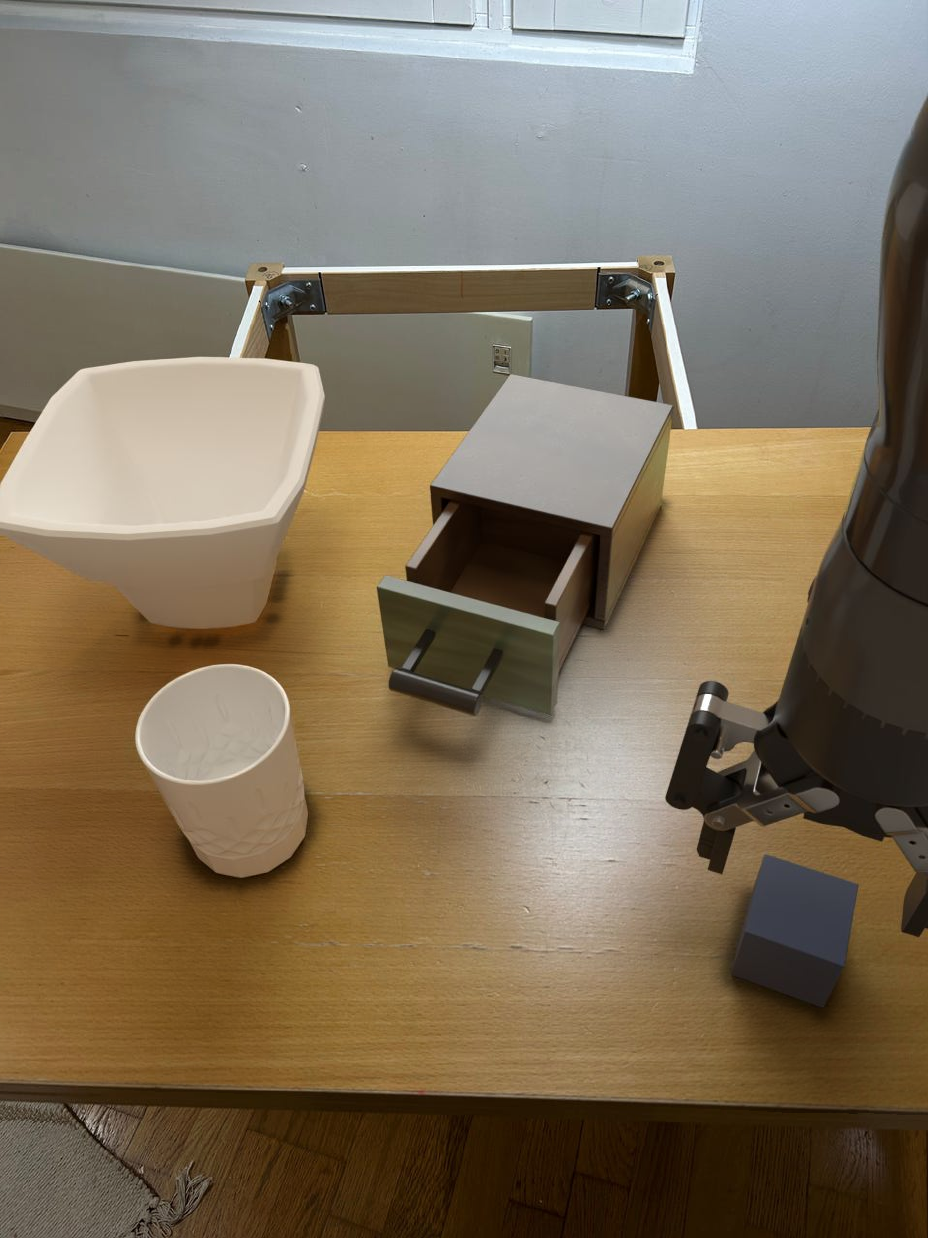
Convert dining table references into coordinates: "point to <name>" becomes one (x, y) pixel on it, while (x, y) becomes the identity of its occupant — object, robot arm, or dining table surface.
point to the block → (796, 930)
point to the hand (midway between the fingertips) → (812, 886)
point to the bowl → (170, 481)
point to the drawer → (487, 609)
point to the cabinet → (567, 469)
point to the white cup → (227, 766)
